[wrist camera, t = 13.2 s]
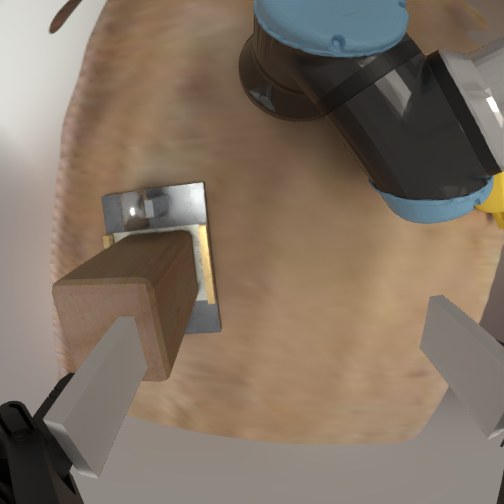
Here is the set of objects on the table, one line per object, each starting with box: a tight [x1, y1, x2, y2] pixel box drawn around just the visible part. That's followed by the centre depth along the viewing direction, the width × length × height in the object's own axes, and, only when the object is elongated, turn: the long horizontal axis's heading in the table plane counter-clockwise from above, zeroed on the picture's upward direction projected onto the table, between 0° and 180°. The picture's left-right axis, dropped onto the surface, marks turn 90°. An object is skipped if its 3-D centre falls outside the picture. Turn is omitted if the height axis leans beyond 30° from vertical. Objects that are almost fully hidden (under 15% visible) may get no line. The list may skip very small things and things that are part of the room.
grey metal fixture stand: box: [102, 182, 221, 357], centre depth 39 cm, size 22×15×10 cm
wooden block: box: [52, 231, 198, 382], centre depth 33 cm, size 10×10×20 cm
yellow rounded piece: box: [474, 172, 504, 229], centre depth 36 cm, size 14×13×10 cm
